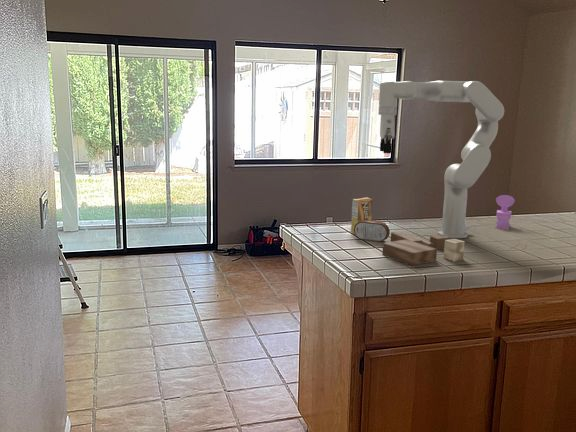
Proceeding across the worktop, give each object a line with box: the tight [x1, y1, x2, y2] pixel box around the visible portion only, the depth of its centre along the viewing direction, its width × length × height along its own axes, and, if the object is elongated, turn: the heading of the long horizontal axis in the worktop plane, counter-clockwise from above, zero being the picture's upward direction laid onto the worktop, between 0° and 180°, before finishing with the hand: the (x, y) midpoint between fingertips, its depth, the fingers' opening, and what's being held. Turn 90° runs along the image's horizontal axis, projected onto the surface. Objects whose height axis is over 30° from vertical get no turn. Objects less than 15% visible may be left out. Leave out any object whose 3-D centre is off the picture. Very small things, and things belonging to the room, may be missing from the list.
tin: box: [354, 220, 391, 243], centre depth 227 cm, size 15×3×8 cm, turn 65°
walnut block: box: [382, 239, 438, 266], centre depth 203 cm, size 12×16×5 cm
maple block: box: [443, 238, 466, 262], centre depth 202 cm, size 5×5×7 cm
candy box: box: [350, 197, 373, 235], centre depth 240 cm, size 9×4×15 cm, turn 129°
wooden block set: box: [390, 231, 450, 250], centre depth 222 cm, size 17×6×18 cm
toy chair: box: [495, 194, 516, 230], centre depth 256 cm, size 8×9×15 cm
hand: (385, 152), depth 231 cm, fingers open, 9 cm apart
